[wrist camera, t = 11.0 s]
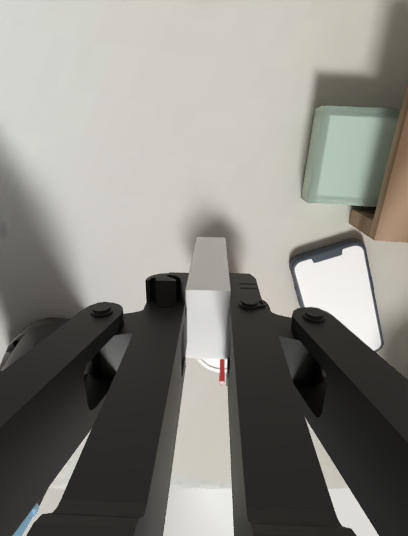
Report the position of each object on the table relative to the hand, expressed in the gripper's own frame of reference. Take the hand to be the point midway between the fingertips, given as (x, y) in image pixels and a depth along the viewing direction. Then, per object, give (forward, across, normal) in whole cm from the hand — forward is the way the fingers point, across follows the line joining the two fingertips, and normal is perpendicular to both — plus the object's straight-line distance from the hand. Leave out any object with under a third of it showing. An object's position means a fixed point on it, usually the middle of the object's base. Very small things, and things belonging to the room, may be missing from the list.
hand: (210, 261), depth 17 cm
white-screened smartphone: (+21, -16, +13) cm, 29 cm away
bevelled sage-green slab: (+20, -17, -5) cm, 27 cm away
